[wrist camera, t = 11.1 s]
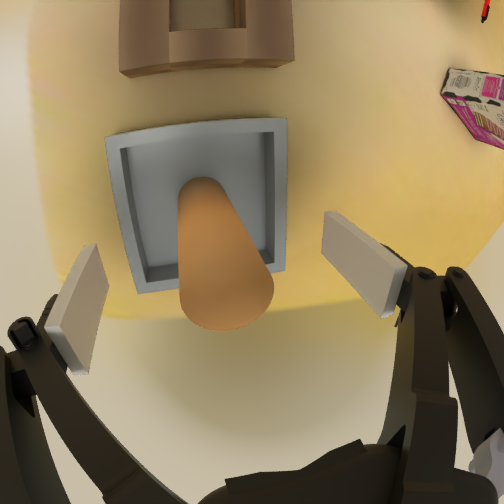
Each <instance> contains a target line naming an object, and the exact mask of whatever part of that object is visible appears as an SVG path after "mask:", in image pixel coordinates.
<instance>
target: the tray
mask: <svg viewBox="0 0 504 504" xmlns="http://www.w3.org/2000/svg"><path fill="white" fill-rule="evenodd" d="M105 144H106V152H107V159H108V166H109V172H110V178H111V184H112V190H113V195H114V200H115V205H116V210H117V215H118V220H119V224H120V229H121V233H122V237H123V242H124V246H125V250H126V254H127V257H128V261H129V265H130V269H131V272H132V276H133V279H134V283H135V286H136V289H137V293H138V294H143V293H150V292H157V291H164V290H171V289H177V288H179V270H178V195H179V192H180V190H181V188H182V187H183V185H184V184H185V183H186V182H188V181H189V180H191V179H193V178H196V177H210V178H212V179H214V180H216V181H218V182H219V183H220V184H221V186H222V187H223V189H224V190H225V192H226V194H227V196H228V198H229V199H230V201H231V203H232V205H233V207H234V209H235V210H236V212H237V214H238V216H239V218H240V219H241V221H242V223H243V225H244V227H245V228H246V230H247V232H248V234H249V236H250V238H251V239H252V241H253V243H254V245H255V247H256V248H257V250H258V252H259V254H260V256H261V258H262V259H263V261H264V263H265V265H266V267H267V268H268V270H269V272H270V273H276V272H282V271H285V260H286V221H287V118H277V117H255V118H233V119H218V120H206V121H196V122H187V123H178V124H171V125H164V126H157V127H150V128H144V129H139V130H133V131H128V132H123V133H118V134H114V135H111V136H108V137H105Z"/></svg>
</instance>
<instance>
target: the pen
mask: <svg viewBox="0 0 504 504" xmlns="http://www.w3.org/2000/svg"><path fill="white" fill-rule="evenodd" d="M489 3H490V0H485V4H484V9H483V13H482V16H481V17H482V21H481V22H482V23H483V22H484V21H485V20H486V19H487V17H488V12H489V8H490V6H489Z"/></svg>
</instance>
